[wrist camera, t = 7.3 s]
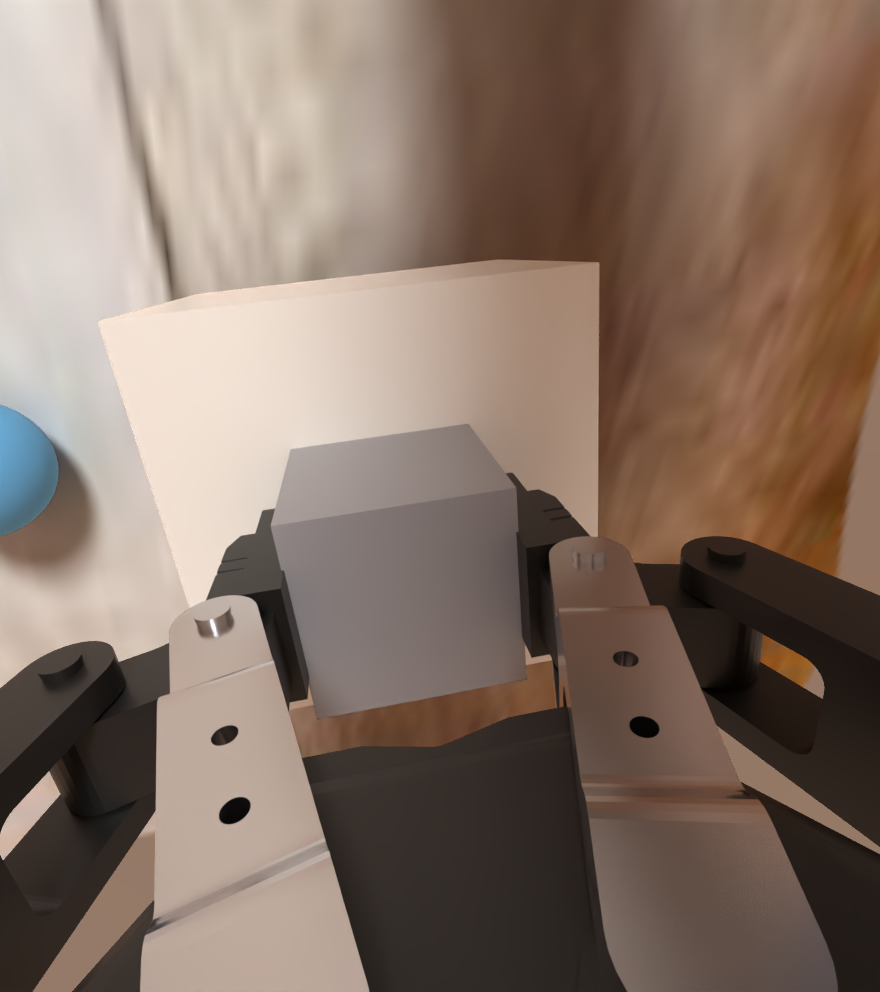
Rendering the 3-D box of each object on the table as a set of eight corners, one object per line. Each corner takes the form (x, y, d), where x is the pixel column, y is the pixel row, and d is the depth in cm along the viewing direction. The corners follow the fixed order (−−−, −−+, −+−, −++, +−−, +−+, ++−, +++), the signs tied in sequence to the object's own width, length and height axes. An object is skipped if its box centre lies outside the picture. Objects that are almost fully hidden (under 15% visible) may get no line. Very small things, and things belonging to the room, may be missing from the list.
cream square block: (497, 259, 20) (707, 264, 9) (513, 521, 24) (670, 765, 13) (198, 293, 19) (-19, 352, 8) (265, 561, 23) (189, 867, 12)
